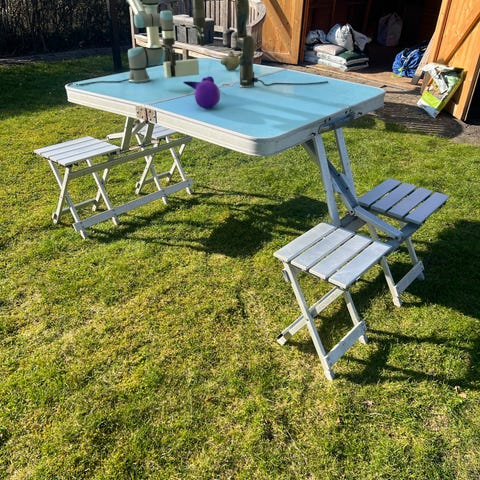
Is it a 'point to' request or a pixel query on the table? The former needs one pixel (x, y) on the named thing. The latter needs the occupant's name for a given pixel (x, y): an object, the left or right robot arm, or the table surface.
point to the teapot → (231, 61)
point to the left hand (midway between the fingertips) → (171, 75)
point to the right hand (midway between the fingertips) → (200, 45)
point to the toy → (205, 92)
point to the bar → (182, 68)
